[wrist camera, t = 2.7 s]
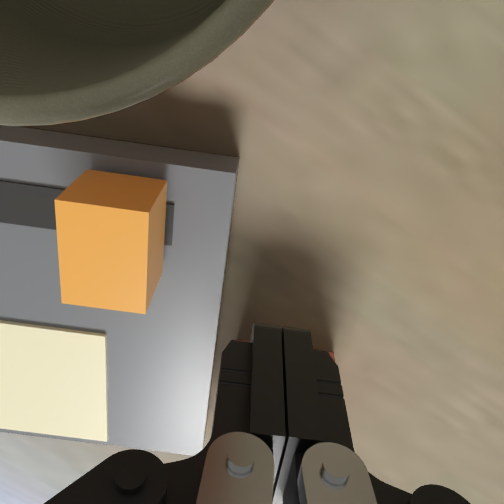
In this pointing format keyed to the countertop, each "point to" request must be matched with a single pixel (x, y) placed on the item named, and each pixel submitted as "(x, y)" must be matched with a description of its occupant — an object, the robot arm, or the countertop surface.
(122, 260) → the orange rectangular prism
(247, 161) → the countertop surface
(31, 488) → the countertop surface
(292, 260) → the countertop surface
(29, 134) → the panel
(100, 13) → the pink terracotta mug
